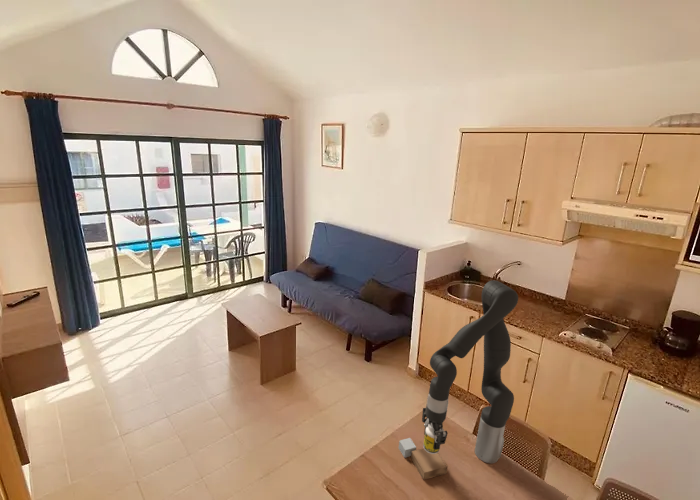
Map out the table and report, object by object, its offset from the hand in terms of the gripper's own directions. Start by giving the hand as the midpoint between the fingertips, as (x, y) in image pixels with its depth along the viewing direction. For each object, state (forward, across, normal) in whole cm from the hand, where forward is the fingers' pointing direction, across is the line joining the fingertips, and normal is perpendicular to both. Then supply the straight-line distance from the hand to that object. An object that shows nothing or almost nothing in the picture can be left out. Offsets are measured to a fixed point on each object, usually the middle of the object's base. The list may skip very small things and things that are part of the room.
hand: (431, 441), depth 138 cm
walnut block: (+12, 0, 0) cm, 12 cm away
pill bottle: (+3, 0, 0) cm, 3 cm away
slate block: (+12, +8, +5) cm, 15 cm away
